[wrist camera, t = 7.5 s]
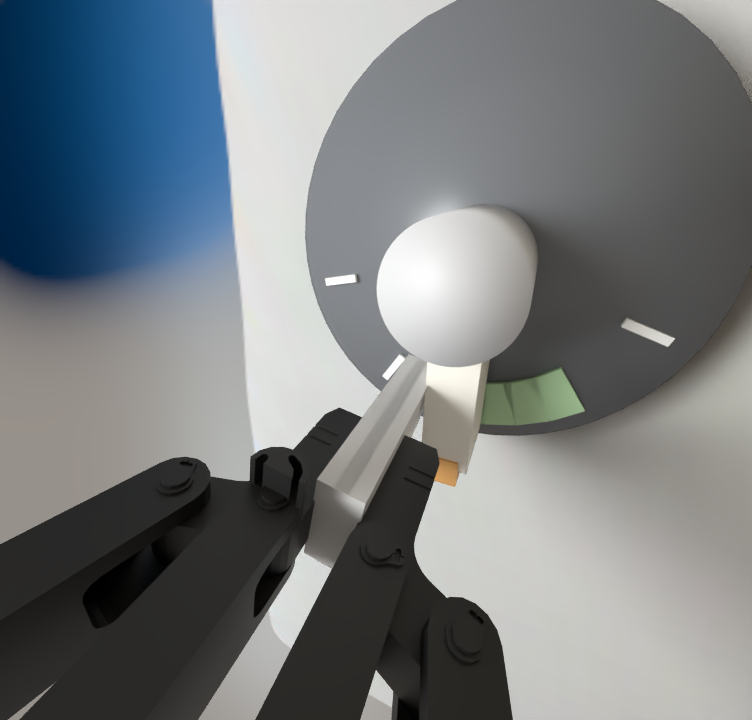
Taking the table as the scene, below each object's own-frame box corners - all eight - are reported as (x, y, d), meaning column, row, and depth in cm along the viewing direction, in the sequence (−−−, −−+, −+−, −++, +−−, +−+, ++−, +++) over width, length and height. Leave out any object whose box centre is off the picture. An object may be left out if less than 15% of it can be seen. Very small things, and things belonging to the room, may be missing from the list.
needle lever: (429, 203, 12) (376, 211, 8) (549, 204, 11) (547, 216, 7) (417, 425, 16) (376, 497, 12) (503, 446, 14) (486, 534, 11)
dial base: (564, 462, 16) (566, 496, 14) (304, 328, 19) (279, 343, 17) (888, 87, 9) (974, 62, 7) (383, -40, 12) (353, -79, 10)
